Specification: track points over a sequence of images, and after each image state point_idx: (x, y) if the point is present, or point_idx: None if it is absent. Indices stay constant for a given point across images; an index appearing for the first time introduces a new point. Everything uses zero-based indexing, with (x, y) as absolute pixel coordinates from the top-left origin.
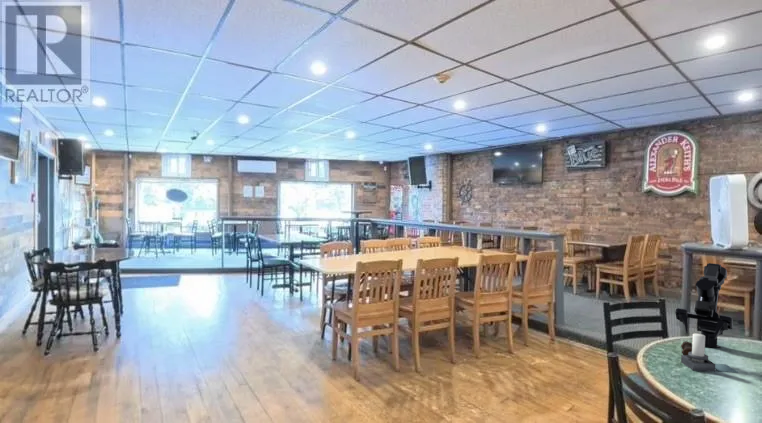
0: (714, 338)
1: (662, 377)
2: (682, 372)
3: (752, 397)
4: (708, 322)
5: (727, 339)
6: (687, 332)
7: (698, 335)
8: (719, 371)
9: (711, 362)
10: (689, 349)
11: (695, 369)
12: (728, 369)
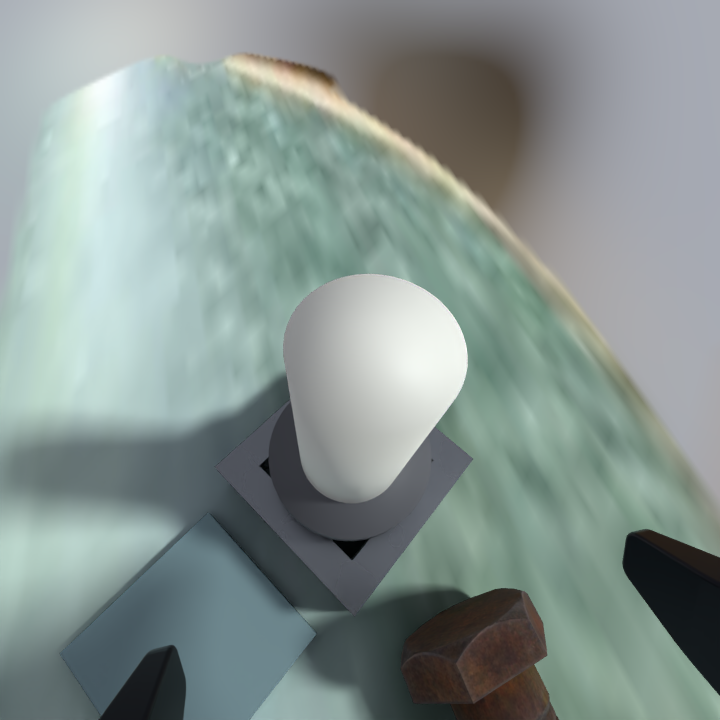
0: (178, 665)
1: (395, 185)
2: None
3: (27, 246)
4: None
5: None
6: (636, 570)
7: (374, 321)
8: (203, 521)
9: (248, 485)
10: (488, 618)
11: None
12: (139, 631)
